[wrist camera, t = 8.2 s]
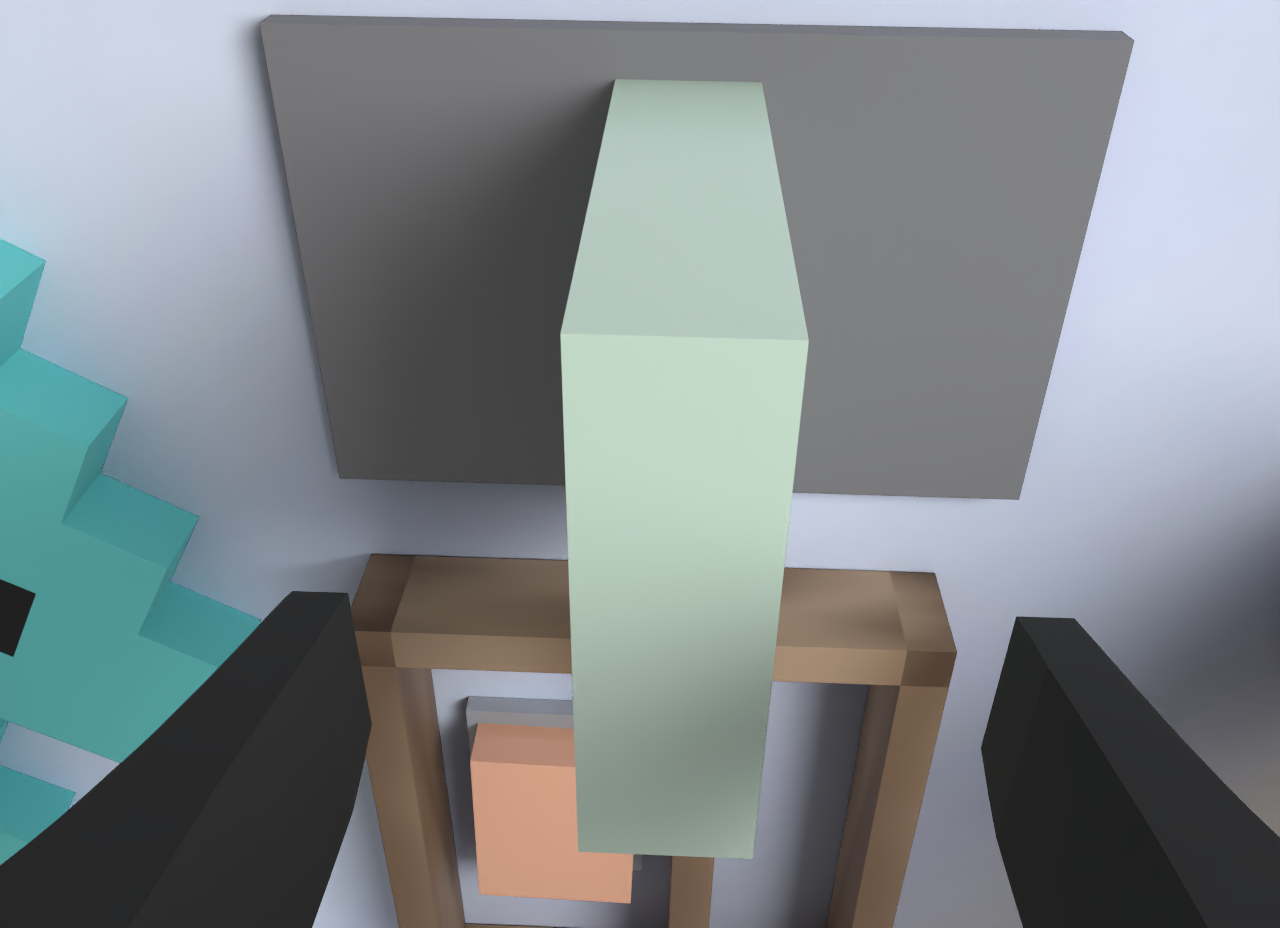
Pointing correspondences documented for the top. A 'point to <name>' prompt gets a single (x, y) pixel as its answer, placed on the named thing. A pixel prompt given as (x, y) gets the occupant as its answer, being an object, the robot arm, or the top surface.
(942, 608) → the rack
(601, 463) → the pale green block
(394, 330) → the gray mat
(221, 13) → the top surface
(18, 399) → the alien figure
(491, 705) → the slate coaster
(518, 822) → the terracotta coaster
